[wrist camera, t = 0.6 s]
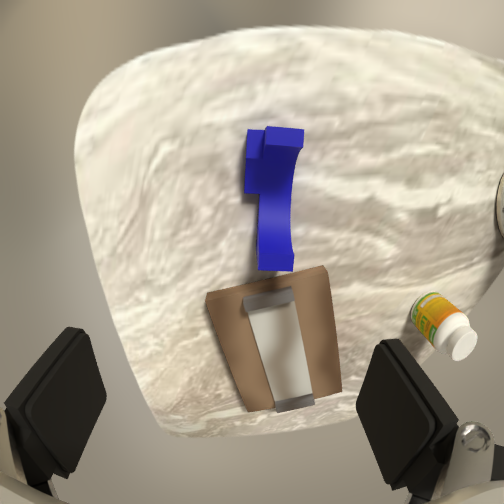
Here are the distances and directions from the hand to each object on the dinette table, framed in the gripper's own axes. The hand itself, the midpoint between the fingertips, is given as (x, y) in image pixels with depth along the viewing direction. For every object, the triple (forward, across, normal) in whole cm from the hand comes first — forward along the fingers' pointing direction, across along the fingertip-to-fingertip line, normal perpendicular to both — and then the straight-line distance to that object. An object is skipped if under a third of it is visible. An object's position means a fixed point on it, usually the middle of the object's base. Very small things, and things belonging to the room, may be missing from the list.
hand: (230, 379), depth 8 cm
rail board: (+22, -6, +14) cm, 27 cm away
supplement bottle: (+22, -25, +10) cm, 35 cm away
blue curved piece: (+23, -3, -3) cm, 23 cm away
